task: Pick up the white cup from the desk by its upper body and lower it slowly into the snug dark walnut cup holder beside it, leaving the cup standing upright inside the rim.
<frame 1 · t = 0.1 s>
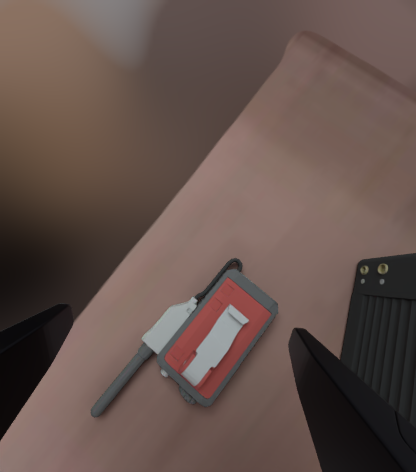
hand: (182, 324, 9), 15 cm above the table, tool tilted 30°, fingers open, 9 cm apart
camera: (391, 328, 24), on the table
walkie-talkie: (191, 345, 23), on the table
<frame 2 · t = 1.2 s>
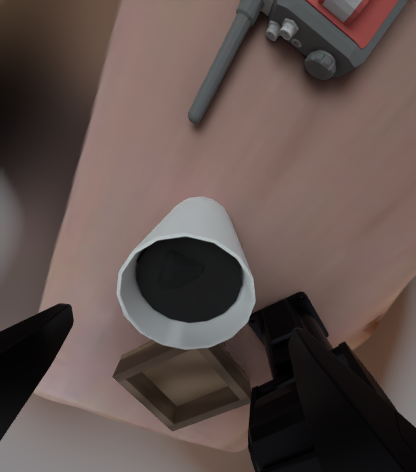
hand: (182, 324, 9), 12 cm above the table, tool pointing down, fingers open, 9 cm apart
cup holder: (186, 367, 26), on the table
white cup: (199, 227, 20), on the table
walkie-talkie: (311, 8, 15), on the table
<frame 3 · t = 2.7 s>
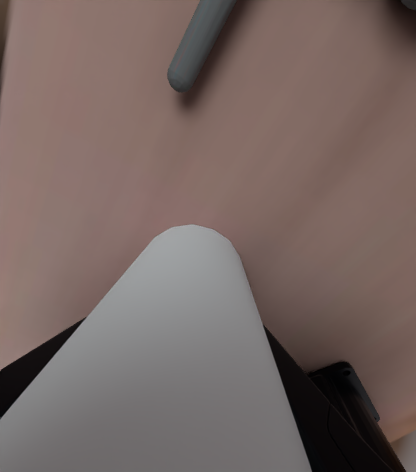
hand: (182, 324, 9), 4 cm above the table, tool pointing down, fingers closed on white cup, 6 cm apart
white cup: (192, 270, 13), on the table, touching gripper
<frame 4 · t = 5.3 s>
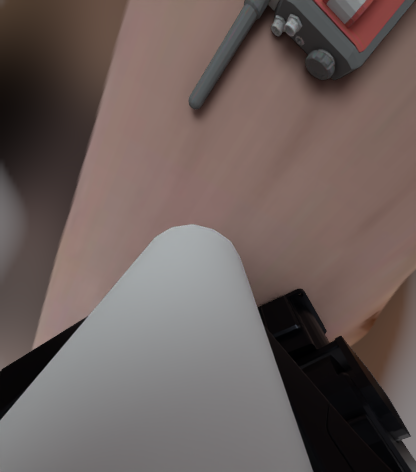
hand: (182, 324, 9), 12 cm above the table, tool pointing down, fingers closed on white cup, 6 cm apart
white cup: (192, 270, 13), point 8 cm above the table, touching gripper
walkie-talkie: (316, 9, 15), on the table
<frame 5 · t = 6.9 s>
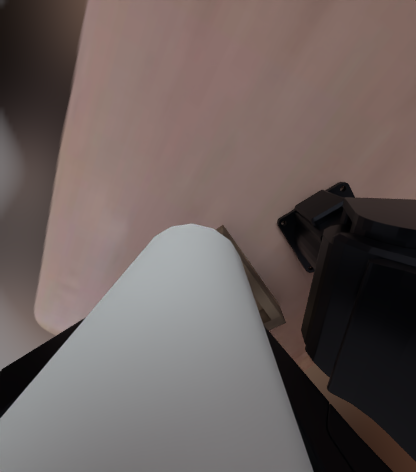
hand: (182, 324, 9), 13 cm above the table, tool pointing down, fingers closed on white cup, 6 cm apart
cup holder: (208, 292, 24), on the table
white cup: (192, 269, 13), point 9 cm above the table, touching gripper
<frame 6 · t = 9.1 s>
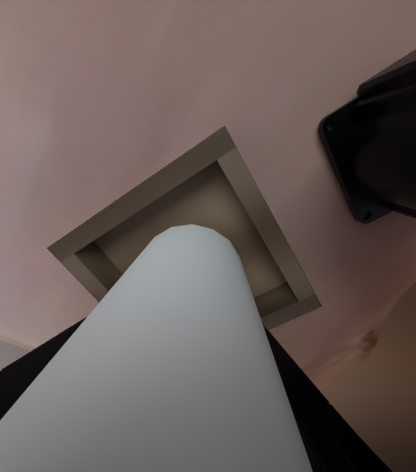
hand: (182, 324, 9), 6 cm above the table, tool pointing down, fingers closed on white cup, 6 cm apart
cup holder: (193, 257, 15), on the table
white cup: (191, 270, 13), point 2 cm above the table, touching gripper
when the fingers open (6 cm above the table, at t = 9.5 s): white cup drops 1 cm, resting on cup holder.
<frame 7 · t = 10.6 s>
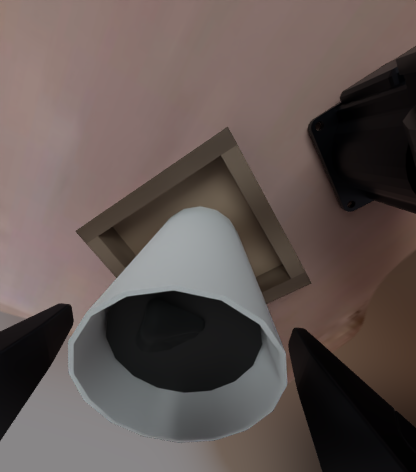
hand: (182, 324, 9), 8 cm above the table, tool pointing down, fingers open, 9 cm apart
cup holder: (199, 242, 17), on the table
white cup: (199, 244, 16), resting on cup holder
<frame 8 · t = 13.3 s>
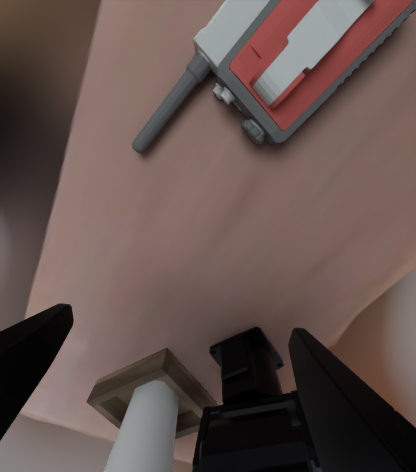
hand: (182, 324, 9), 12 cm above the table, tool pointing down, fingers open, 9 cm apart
cup holder: (157, 391, 28), on the table
white cup: (157, 394, 28), resting on cup holder
walkie-talkie: (257, 79, 16), on the table
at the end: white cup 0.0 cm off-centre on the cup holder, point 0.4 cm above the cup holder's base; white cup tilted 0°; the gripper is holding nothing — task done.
